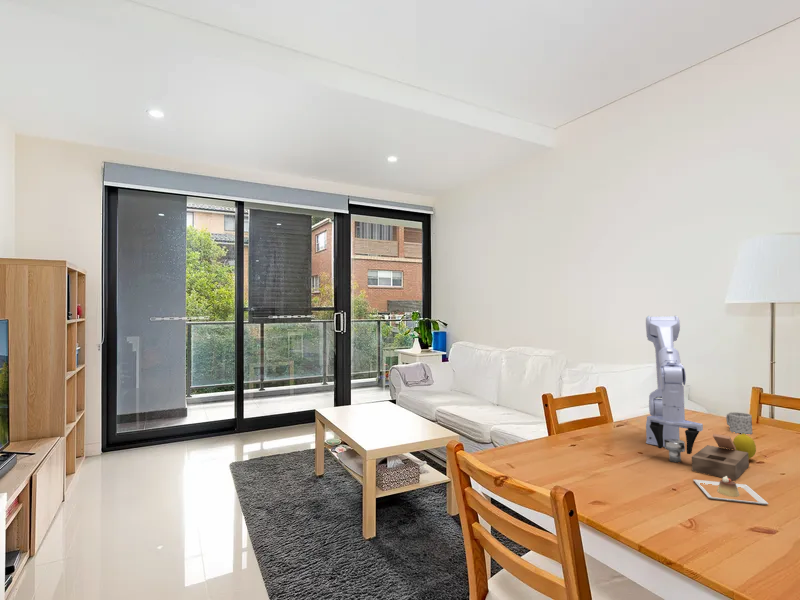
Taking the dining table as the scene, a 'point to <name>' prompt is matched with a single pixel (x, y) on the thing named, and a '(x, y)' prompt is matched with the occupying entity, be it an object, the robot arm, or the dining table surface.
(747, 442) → the lemon
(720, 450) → the socket block
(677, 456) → the silver knob
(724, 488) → the dessert
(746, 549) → the dining table surface
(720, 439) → the bar
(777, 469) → the dining table surface
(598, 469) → the dining table surface
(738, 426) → the mug
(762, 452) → the dining table surface
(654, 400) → the robot arm
